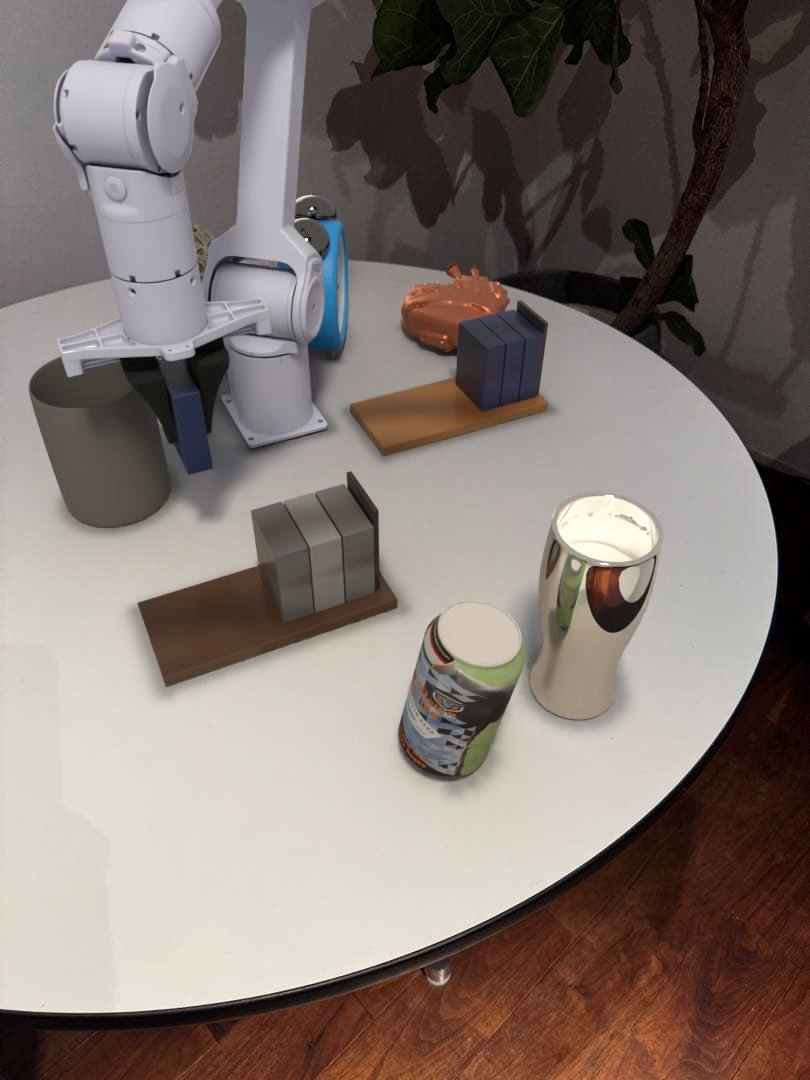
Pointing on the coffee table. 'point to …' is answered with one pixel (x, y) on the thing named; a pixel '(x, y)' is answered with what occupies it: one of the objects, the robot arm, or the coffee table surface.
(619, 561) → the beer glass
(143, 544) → the coffee table surface
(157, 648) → the walnut book board
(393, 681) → the coffee table surface
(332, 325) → the alarm clock
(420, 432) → the oak book board
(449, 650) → the beverage can
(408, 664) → the coffee table surface
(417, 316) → the heart
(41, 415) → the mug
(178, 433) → the navy book
